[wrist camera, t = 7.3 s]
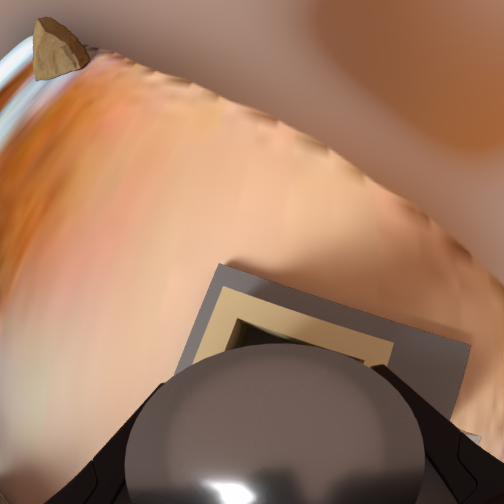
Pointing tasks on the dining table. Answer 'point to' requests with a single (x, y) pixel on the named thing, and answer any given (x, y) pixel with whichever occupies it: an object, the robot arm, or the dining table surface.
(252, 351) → the hinge pin
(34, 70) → the rock
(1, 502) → the coffee box
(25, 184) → the dining table surface
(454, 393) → the grey plate with frame
